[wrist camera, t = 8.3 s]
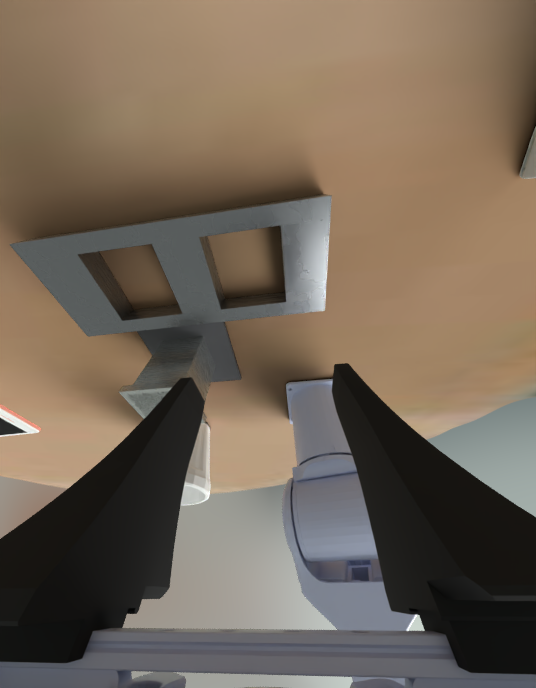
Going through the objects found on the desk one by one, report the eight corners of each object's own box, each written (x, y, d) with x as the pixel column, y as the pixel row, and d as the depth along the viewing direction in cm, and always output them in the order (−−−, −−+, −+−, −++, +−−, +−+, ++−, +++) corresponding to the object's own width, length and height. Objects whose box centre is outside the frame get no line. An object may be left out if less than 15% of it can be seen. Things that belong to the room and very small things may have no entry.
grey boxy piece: (219, 368, 24) (205, 423, 18) (177, 372, 24) (151, 427, 19) (205, 332, 21) (183, 386, 15) (157, 337, 21) (118, 392, 15)
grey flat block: (319, 300, 19) (324, 310, 17) (101, 324, 20) (87, 336, 19) (324, 194, 14) (331, 195, 12) (35, 238, 15) (9, 244, 14)
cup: (155, 433, 34) (125, 500, 27) (163, 401, 28) (127, 475, 21) (212, 445, 37) (199, 508, 30) (230, 417, 31) (219, 488, 24)
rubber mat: (241, 377, 25) (240, 379, 25) (173, 383, 26) (172, 385, 26) (222, 315, 20) (221, 317, 19) (136, 325, 20) (134, 327, 20)
